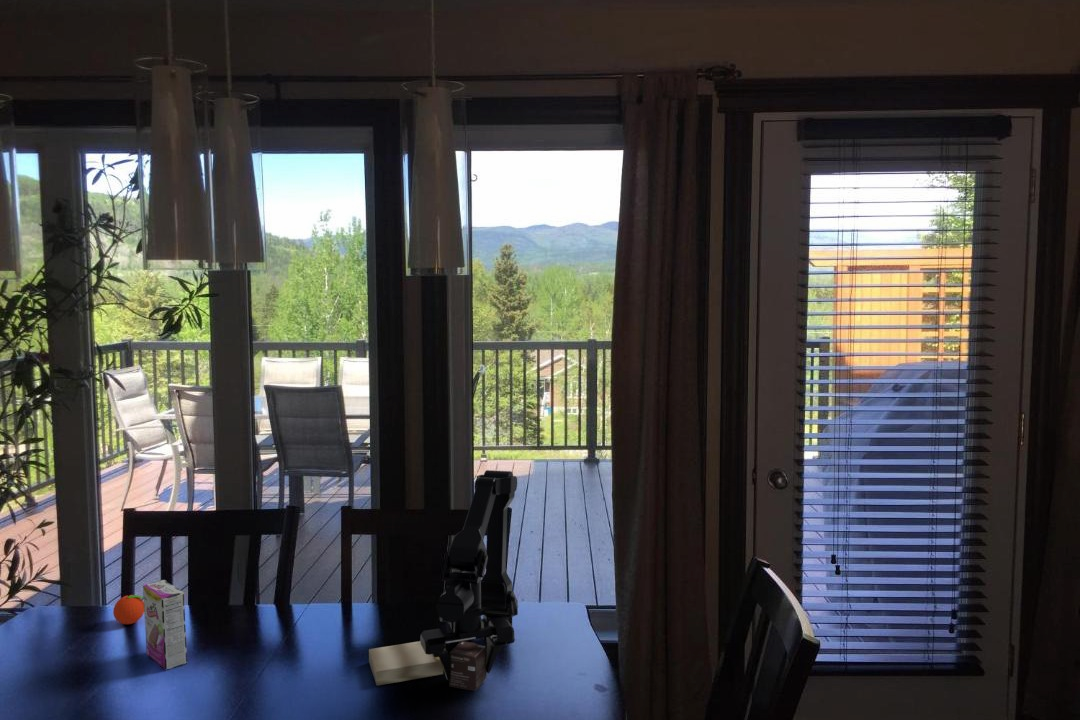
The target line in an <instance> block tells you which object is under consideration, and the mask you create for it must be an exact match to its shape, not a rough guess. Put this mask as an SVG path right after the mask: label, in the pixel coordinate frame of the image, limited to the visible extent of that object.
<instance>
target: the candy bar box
mask: <svg viewBox="0 0 1080 720" xmlns="http://www.w3.org/2000/svg"><path fill="white" fill-rule="evenodd" d="M142 591H143V593H142V595H143V596H142V597H144V599H143V602H144V614H143V615H144V625H145V626H144V630H145V646H146V647H145V648H146V656H148V657H149V656H150V657H151V658H150V657H149V658H150V659H151V660H153V661H154V662H155V663H156V662H157V663H156V664H157V665H159V666H162V667H161V668H163V669H164V671H168V670H167V669H170V670H172V669H171V668H173V669H175V668H177V666H178V667H180V666H183V665H186V663H187V664H188V651H187V647H188V646H187V632H186V631H187V630H186V629H187V627H186V610H185V609H186V608H185V607H186V606H185V592H184V591H183V590H181V589H179V588H177V587H176V586H174V585H173V584H171V583H169V582H168V580H166V579H161V580H158V581H153V582H151V583H146V584H143V585H142ZM174 667H175V668H174Z"/></svg>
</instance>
